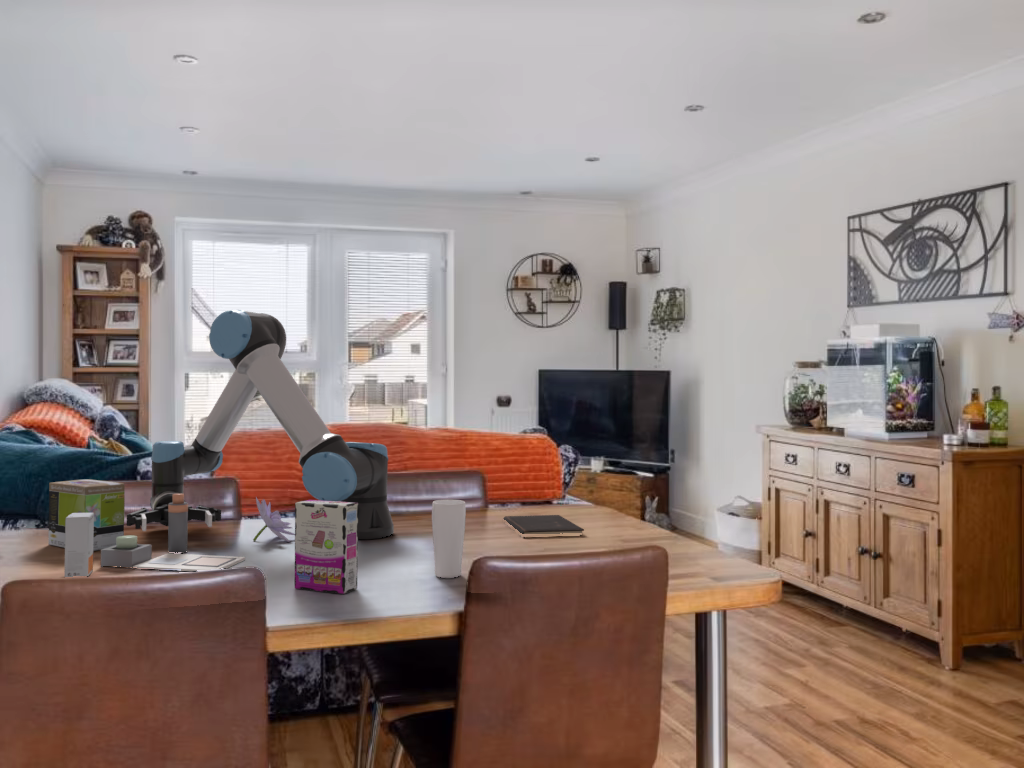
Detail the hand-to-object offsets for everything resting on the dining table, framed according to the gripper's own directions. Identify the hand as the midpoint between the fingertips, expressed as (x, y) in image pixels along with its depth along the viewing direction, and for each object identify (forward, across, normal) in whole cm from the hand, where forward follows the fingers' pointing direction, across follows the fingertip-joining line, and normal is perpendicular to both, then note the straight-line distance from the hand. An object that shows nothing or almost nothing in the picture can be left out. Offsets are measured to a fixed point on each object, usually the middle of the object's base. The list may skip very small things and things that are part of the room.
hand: (177, 522), depth 190 cm
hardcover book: (+2, -90, -8) cm, 90 cm away
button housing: (+6, +10, -7) cm, 14 cm away
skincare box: (+14, +19, -7) cm, 25 cm away
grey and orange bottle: (-2, 0, -7) cm, 7 cm away
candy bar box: (+43, -23, -7) cm, 49 cm away
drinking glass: (+42, -48, -7) cm, 64 cm away
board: (+12, -2, -7) cm, 14 cm away
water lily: (-8, -23, -7) cm, 25 cm away
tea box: (-18, +18, -7) cm, 26 cm away
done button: (+6, +10, -3) cm, 13 cm away
